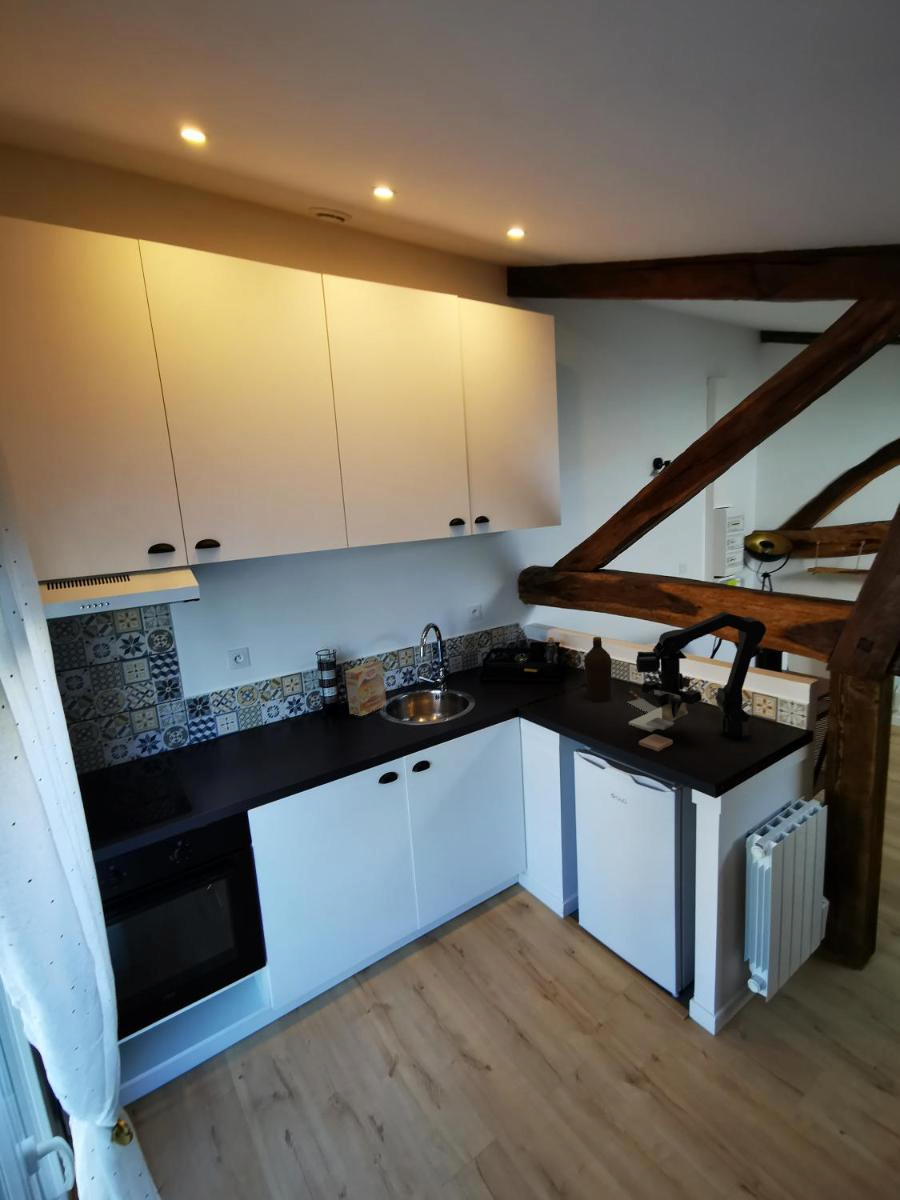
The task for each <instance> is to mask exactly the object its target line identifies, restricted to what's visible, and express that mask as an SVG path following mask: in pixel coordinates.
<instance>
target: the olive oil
mask: <svg viewBox="0 0 900 1200" xmlns="http://www.w3.org/2000/svg"><path fill="white" fill-rule="evenodd" d="M602 642H603V641H602V637H601V636H594V637H593V638H592V648H590V650H589V651H588V652H587V653H586V654H585V657H584V663H583V664H584V672H585V673H584V674H585V676H584V677H585V689H586V695H587V700H588V701H591V700H592V702H595V701H596V702H598V703H601V702H608V701H610V700H611V699H612V672H613V671H612V669H613V666H612V665H613V664H612V663H613V660H612V656H611V655H610V653H609V652H607V650H606V649H604V648H603V646H602V645H603V643H602ZM596 702H595V703H596Z"/></svg>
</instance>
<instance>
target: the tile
mask: <svg viewBox="0 0 900 1200" xmlns="http://www.w3.org/2000/svg"><path fill="white" fill-rule="evenodd" d="M673 740H674V739H671V738H668V737H664V736H663V735H660V734H656V733H652V734H651V735H648V736H647V737H645V738H642V739H640V740H639V741H638V745H639V746H642V747H643V748H644V747H645V748H648V749H649V750H652V749H653V751H655V752H660V751H661V750H664V749H665V747H666V748H667V747H669V746H671V745H673V743H674V741H673ZM663 748H664V749H663Z"/></svg>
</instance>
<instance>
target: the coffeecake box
mask: <svg viewBox="0 0 900 1200" xmlns="http://www.w3.org/2000/svg"><path fill="white" fill-rule="evenodd" d="M344 673H345V680H346V689H347V698H348V709H349V715H350V714H354V715H358V716H363V715H366V714H368V713H370V712H372V711H375V710H377V709H379V708H381V707H383V706H384V705H386V706H387V699H386V698H387V697H386V687H385V679H384V667H383V663H382V662H378V661H368V662H366V663H363V664H360V665H358V666H356V667H352V668H350V669H347V670H345V671H344Z"/></svg>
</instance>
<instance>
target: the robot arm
mask: <svg viewBox="0 0 900 1200" xmlns="http://www.w3.org/2000/svg"><path fill="white" fill-rule="evenodd" d="M726 627H730V628H732V629H735V630H738V631H737V635H738V637H737V638H738V646H737V649H736V652H735V656H734V660H733V663H732V665H731V669H730V672H729V675H728V679H727V682H726V685H725V686H723V688H722V687H720V686H719V687H717V688H718V689H717V693H716V696H715V697H714V698H715V700H716V701H715V702H716V705H717V707H718V708H719V709H720V710H721V711H722V712H723V714H724V715H723V718H722V720H721V732H720V735H721V736H723V737H728V738H730V739H734V740H737V741H741V740H743V739H744V738H746V737H748V736H749V735H750V732H748V722H749V720H750V715H749V714H748V712H746V711H745V710H744V709H743V699H744V698H743V687H744V684H745V680H746V678H747V674H748V672H749V667H750V665H751V661H752V657H753V655H754V651H755V649H756V648H757V647H758V645H760V643H762V641H763V639H764V636H765V635H766V632H767V627H766V625H765V624H764V623H763V622H762V621H760V620H758V619H756V618H755V617H752V616H746V617H743V616H740V615H737V614H733V613H730V612H728V611H725V610H724V611H720V612H719V613H718V614H715V615H713V616H711V617H709V618H706V619H704V620H702V621H701V620H700V621H699V622H696V623H695V624H693V625H690V626H688V627H685V628H680V629H672V630H669V631H666V632H662V633H661V634H660V636H659V640H658V641H657V643H656V644H655V646H654V647H653V649H652V651H637V655H636V660H635V665H636V671H637V673H642V674H643V673H657V671H658V672H659V670H660V674H658V678H659V679H660V681H657V680H652V679H650V680H648V681H644V682H643V683H642V685H641V687H640V688H641V689H640V690H641V692H642V693H646V694H650V693H651V692H652V691H654V693H653V695H652V697H653V698H655V700H656V701H657V703H658V704H659V706H660V707H661V708H662V706H664V705H666V704H668V703H671V707H672V714H673V718H675V717H676V716H677V714H678V711H679V709H680V706H681V704H682V703H686V705H694V704H697V703H698V702H700V701H702V699H703V695H702V693H701V691H698V690H694V689H691V688H690V685H691V684H690V683H691V678H689V677H685V676H683V673H682V672H681V673H680V668H681V666H680V662H681V661H680V659H684V660H685V659H687V656H686V655H685V654H684V653H683V652H682V651H681V650H682V649H684V648H686V647H687V646H688V645H689V644H690V643H691V642H693V641H695V640H697V639H700V638H702V637H705V636H707V635H710V634H711V633H714V632H716V631H717V632H718V631H719V630H721V629H724V628H726ZM685 688H687V690H686V691H685V690H684V689H685ZM689 688H690V689H689ZM670 695H672V696H673V697H674V698H673V699H671V700H670V702H669V698H670Z"/></svg>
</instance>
